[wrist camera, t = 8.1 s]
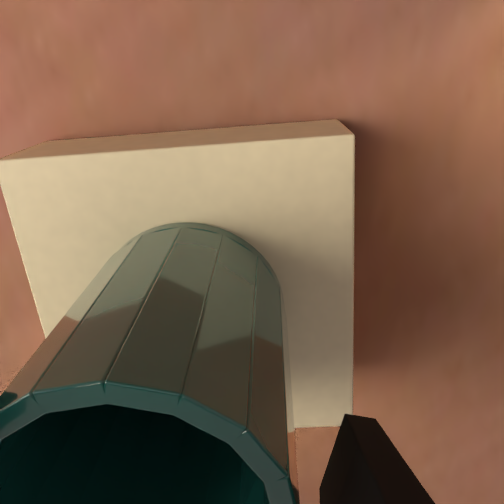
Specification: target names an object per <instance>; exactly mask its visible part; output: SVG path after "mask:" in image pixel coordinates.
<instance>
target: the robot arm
mask: <svg viewBox="0 0 504 504" xmlns="http://www.w3.org/2000/svg"><path fill="white" fill-rule="evenodd" d="M320 504H435V503H434V501H433V500H432V499H431V497H430V496H429V495H428V493H427V492H426V490H425V489H424V488H423V486H422V485H421V483H420V482H419V481H418V479H417V478H416V476H415V475H414V473H413V472H412V471H411V469H410V468H409V466H408V465H407V463H406V462H405V461H404V459H403V458H402V456H401V455H400V453H399V452H398V451H397V449H396V448H395V446H394V445H393V443H392V442H391V440H390V439H389V437H388V436H387V435H386V433H385V432H384V430H383V429H382V427H381V426H380V425H379V423H378V422H377V420H376V419H374V418H368V417H362V416H356V415H350V414H344V417H343V420H342V423H341V426H340V429H339V432H338V435H337V438H336V441H335V444H334V447H333V450H332V453H331V456H330V459H329V462H328V465H327V468H326V471H325V474H324V477H323V480H322V483H321V486H320Z"/></svg>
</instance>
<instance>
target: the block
mask: <svg viewBox="0 0 504 504" xmlns="http://www.w3.org/2000/svg"><path fill="white" fill-rule="evenodd" d="M0 185H1V189H2V192H3V195H4V199H5V202H6V206H7V209H8V212H9V216H10V219H11V223H12V226H13V229H14V233H15V236H16V240H17V243H18V246H19V250H20V253H21V257H22V260H23V263H24V267H25V270H26V274H27V277H28V281H29V284H30V287H31V291H32V294H33V298H34V301H35V304H36V308H37V311H38V315H39V318H40V321H41V325H42V328H43V332H44V335H45V338H47V337H48V335H49V334H50V333H51V332H52V330H53V329H54V328H55V327H56V325H57V324H58V323H59V321H60V320H61V319H62V318H63V316H64V315H65V314H66V313H67V311H68V310H69V309H70V308H71V306H72V305H73V304H74V303H75V301H76V300H77V299H78V298H79V296H80V295H81V294H82V292H83V291H84V290H85V289H86V287H87V286H88V285H89V284H90V282H91V281H92V280H93V279H94V277H95V276H96V275H97V274H98V272H99V271H100V270H101V269H102V267H103V266H104V265H105V263H106V262H107V261H108V260H109V258H110V257H111V256H112V255H113V254H114V253H116V252H117V251H118V250H119V249H120V248H121V247H122V246H123V245H124V244H125V243H127V242H128V241H129V240H130V239H132V238H133V237H135V236H137V235H138V234H140V233H142V232H144V231H146V230H149V229H151V228H154V227H157V226H161V225H165V224H171V223H200V224H206V225H210V226H214V227H218V228H221V229H223V230H226V231H229V232H231V233H233V234H235V235H237V236H238V237H240V238H242V239H243V240H245V241H246V242H248V243H249V244H251V245H252V246H253V247H254V248H255V249H256V250H257V251H258V252H260V253H261V254H262V256H263V257H264V258H265V259H266V260H267V262H268V263H269V264H270V266H271V267H272V269H273V270H274V272H275V274H276V276H277V278H278V280H279V283H280V286H281V289H282V293H283V298H284V305H285V312H286V317H287V329H288V343H289V358H290V372H291V387H292V401H293V415H294V428H303V427H331V426H341V423H342V420H343V417H344V414H350V415H353V332H354V198H355V135H354V134H353V133H352V132H351V131H350V130H349V129H348V128H347V127H345V126H344V125H343V124H342V123H341V122H340V121H339V120H337V119H330V120H317V121H304V122H290V123H277V124H264V125H251V126H238V127H225V128H211V129H198V130H185V131H172V132H159V133H145V134H132V135H119V136H106V137H93V138H80V139H66V140H53V141H45V142H43V143H40V144H37V145H35V146H32V147H29V148H27V149H24V150H21V151H18V152H16V153H13V154H10V155H8V156H5V157H2V158H0Z"/></svg>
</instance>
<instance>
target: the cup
mask: <svg viewBox="0 0 504 504" xmlns="http://www.w3.org/2000/svg"><path fill="white" fill-rule="evenodd" d="M0 504H300V502H299V487H298V473H297V458H296V444H295V430H294V415H293V401H292V387H291V372H290V358H289V343H288V329H287V317H286V312H285V305H284V298H283V293H282V289H281V286H280V283H279V280H278V278H277V276H276V274H275V272H274V270H273V269H272V267H271V266H270V264H269V263H268V262H267V260H266V259H265V258H264V257H263V256H262V254H261V253H260V252H258V251H257V250H256V249H255V248H254V247H253V246H252V245H251V244H249V243H248V242H246V241H245V240H243V239H242V238H240V237H238V236H237V235H235V234H233V233H231V232H229V231H226V230H223V229H221V228H218V227H214V226H210V225H206V224H200V223H171V224H165V225H161V226H157V227H154V228H151V229H149V230H146V231H144V232H142V233H140V234H138V235H137V236H135V237H133V238H132V239H130V240H129V241H128V242H127V243H125V244H124V245H123V246H122V247H121V248H120V249H119V250H118V251H117V252H116V253H114V254H113V255H112V256H111V257H110V258H109V260H108V261H107V262H106V263H105V265H104V266H103V267H102V269H101V270H100V271H99V272H98V274H97V275H96V276H95V277H94V279H93V280H92V281H91V282H90V284H89V285H88V286H87V287H86V289H85V290H84V291H83V292H82V294H81V295H80V296H79V298H78V299H77V300H76V301H75V303H74V304H73V305H72V306H71V308H70V309H69V310H68V311H67V313H66V314H65V315H64V316H63V318H62V319H61V320H60V321H59V323H58V324H57V325H56V327H55V328H54V329H53V330H52V332H51V333H50V334H49V335H48V337H47V338H46V339H45V340H44V342H43V343H42V344H41V345H40V347H39V348H38V349H37V350H36V352H35V353H34V354H33V356H32V357H31V358H30V359H29V361H28V362H27V363H26V364H25V366H24V367H23V368H22V369H21V371H20V372H19V373H18V374H17V376H16V377H15V378H14V379H13V381H12V382H11V383H10V385H9V386H8V387H7V388H6V390H5V391H4V392H3V393H2V395H1V396H0Z"/></svg>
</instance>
